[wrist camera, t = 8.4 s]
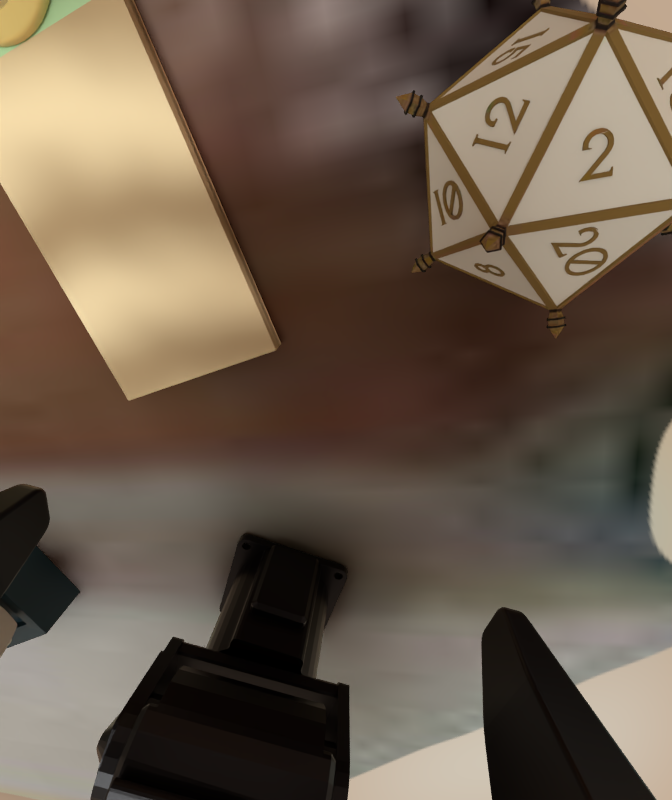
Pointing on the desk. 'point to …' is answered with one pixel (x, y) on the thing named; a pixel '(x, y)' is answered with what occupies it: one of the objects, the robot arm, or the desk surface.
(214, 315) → the board
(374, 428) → the desk surface
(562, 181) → the game die
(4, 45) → the peg
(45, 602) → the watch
